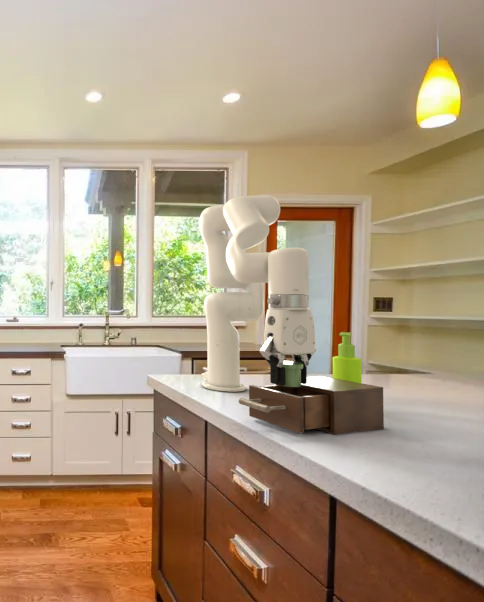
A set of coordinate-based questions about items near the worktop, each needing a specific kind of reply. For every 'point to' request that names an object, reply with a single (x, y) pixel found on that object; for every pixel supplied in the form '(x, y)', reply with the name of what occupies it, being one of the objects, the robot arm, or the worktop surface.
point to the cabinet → (350, 404)
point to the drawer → (289, 407)
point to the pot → (292, 373)
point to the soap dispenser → (346, 361)
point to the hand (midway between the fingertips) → (288, 382)
